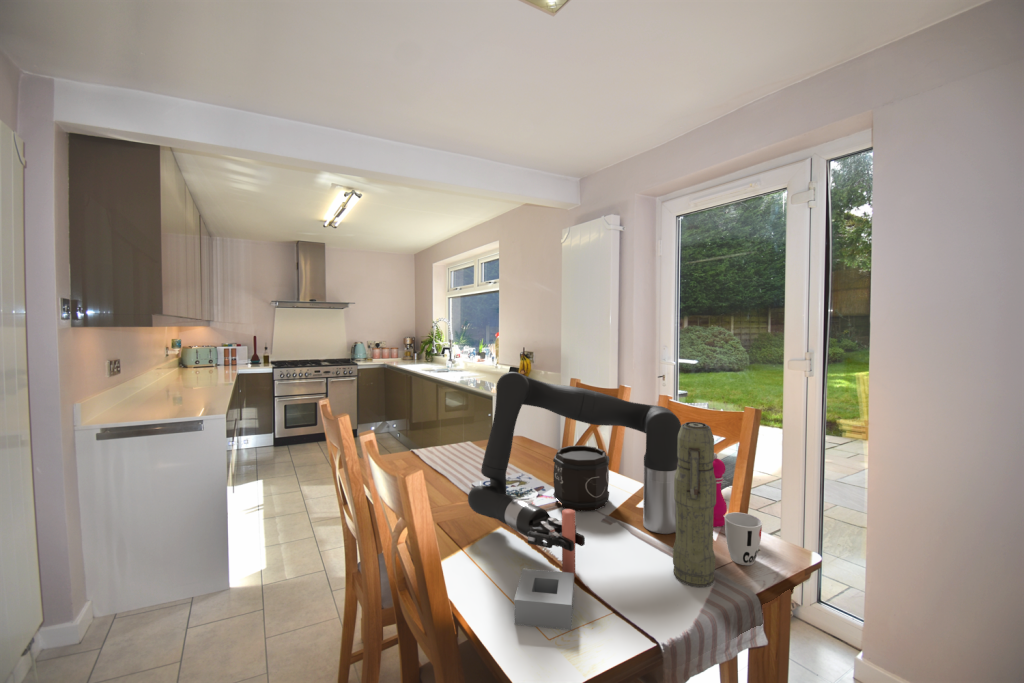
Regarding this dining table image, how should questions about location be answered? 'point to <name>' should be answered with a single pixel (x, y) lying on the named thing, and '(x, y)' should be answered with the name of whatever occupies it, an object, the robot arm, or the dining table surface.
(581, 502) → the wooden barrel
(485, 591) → the dining table surface
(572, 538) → the pin
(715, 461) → the pepper mill
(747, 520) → the cup
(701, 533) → the thermos
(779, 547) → the dining table surface
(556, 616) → the socket block
